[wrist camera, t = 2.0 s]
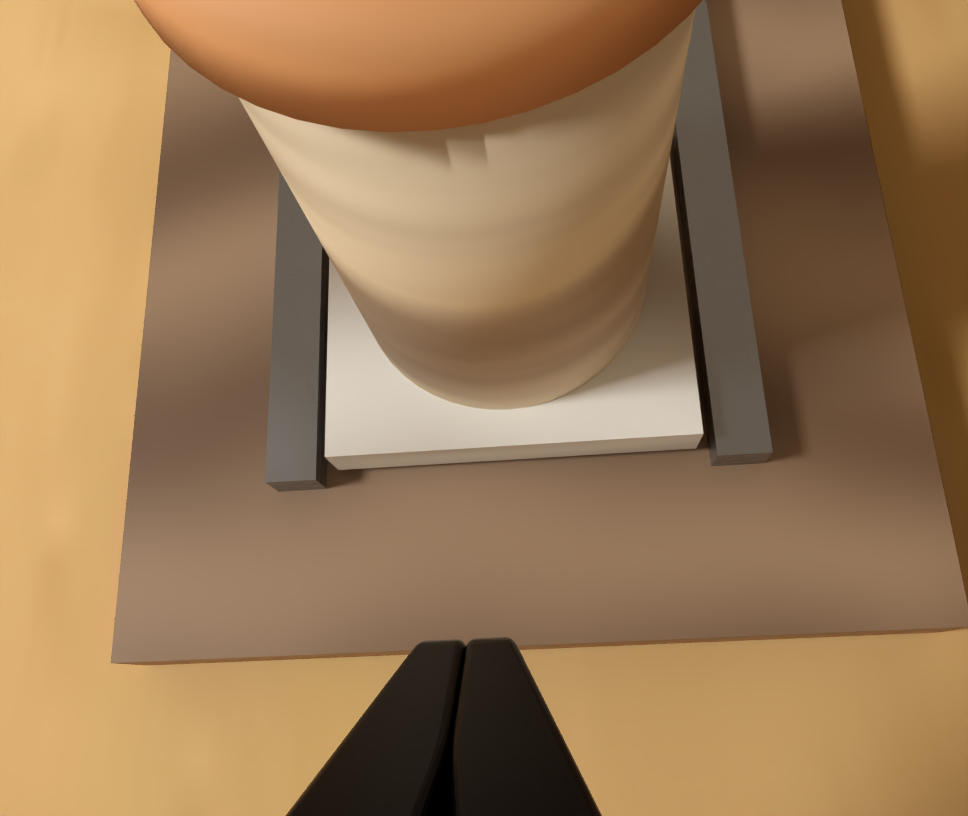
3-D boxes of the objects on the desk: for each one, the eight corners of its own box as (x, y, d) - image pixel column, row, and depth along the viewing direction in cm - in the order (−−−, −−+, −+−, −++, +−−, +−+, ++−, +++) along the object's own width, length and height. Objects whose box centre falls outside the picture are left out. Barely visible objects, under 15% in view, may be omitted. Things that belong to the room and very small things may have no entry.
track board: (938, 632, 17) (972, 626, 15) (147, 665, 18) (110, 662, 17) (776, -191, 24) (789, -248, 22) (214, -124, 25) (192, -172, 24)
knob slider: (696, 448, 16) (912, 13, 6) (338, 469, 17) (-47, 110, 6) (659, 138, 19) (769, -582, 8) (344, 167, 19) (63, -470, 9)
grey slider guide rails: (827, 459, 16) (879, 411, 14) (221, 495, 17) (152, 456, 15) (721, -176, 22) (743, -306, 19) (259, -120, 23) (214, -236, 20)
